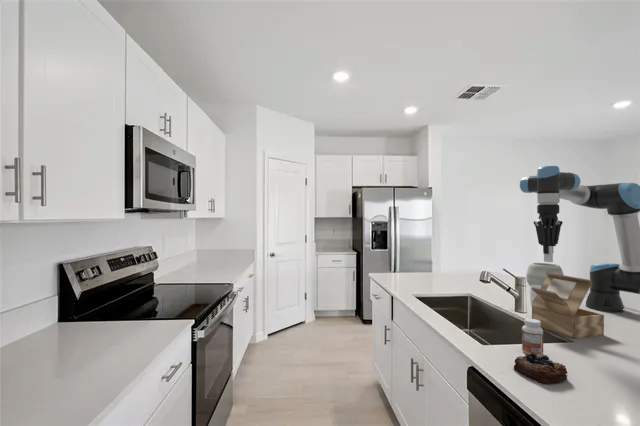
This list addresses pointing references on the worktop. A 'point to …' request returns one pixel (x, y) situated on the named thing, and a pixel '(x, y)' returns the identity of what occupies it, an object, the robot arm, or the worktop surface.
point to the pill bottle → (532, 337)
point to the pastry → (540, 369)
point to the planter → (541, 272)
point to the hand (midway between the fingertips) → (548, 261)
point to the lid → (561, 294)
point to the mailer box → (570, 322)
